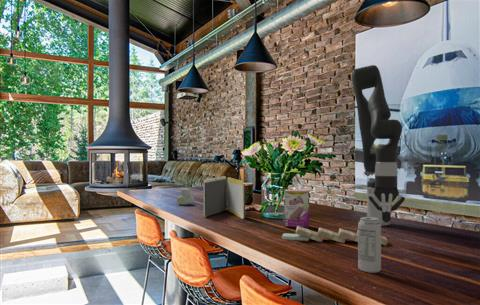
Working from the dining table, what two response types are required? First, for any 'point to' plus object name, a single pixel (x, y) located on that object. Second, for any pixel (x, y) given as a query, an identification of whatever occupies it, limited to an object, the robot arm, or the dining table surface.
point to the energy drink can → (369, 245)
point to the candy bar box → (296, 208)
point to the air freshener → (185, 197)
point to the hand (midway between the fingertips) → (386, 222)
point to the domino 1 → (294, 237)
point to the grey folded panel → (224, 196)
